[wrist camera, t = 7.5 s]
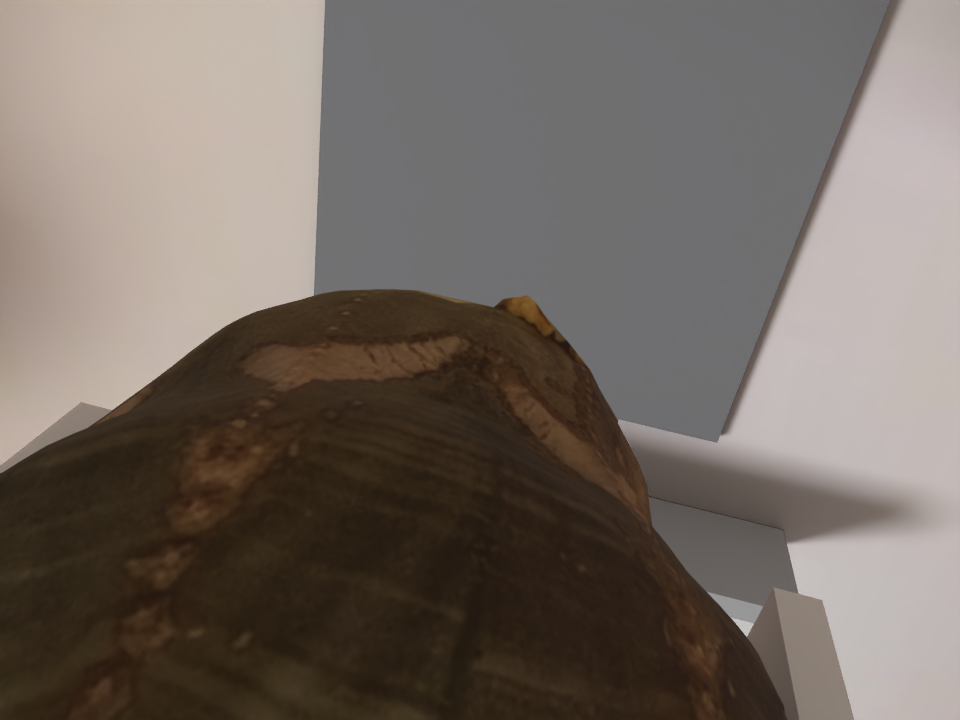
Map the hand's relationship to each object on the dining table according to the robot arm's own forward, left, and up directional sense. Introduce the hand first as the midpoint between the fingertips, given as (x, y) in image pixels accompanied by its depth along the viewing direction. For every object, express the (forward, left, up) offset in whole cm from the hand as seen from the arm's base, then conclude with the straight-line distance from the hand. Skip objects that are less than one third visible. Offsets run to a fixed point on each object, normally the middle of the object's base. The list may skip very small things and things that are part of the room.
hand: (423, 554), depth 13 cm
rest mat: (-1, +1, -18) cm, 18 cm away
